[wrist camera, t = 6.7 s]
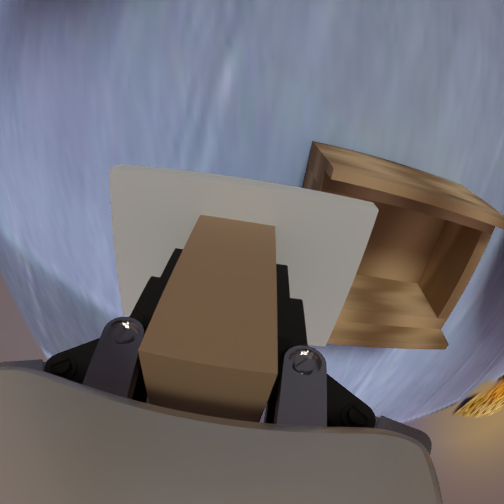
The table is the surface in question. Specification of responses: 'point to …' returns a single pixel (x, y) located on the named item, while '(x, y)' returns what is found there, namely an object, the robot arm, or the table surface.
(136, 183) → the lid
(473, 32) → the table surface
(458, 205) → the box
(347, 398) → the robot arm
